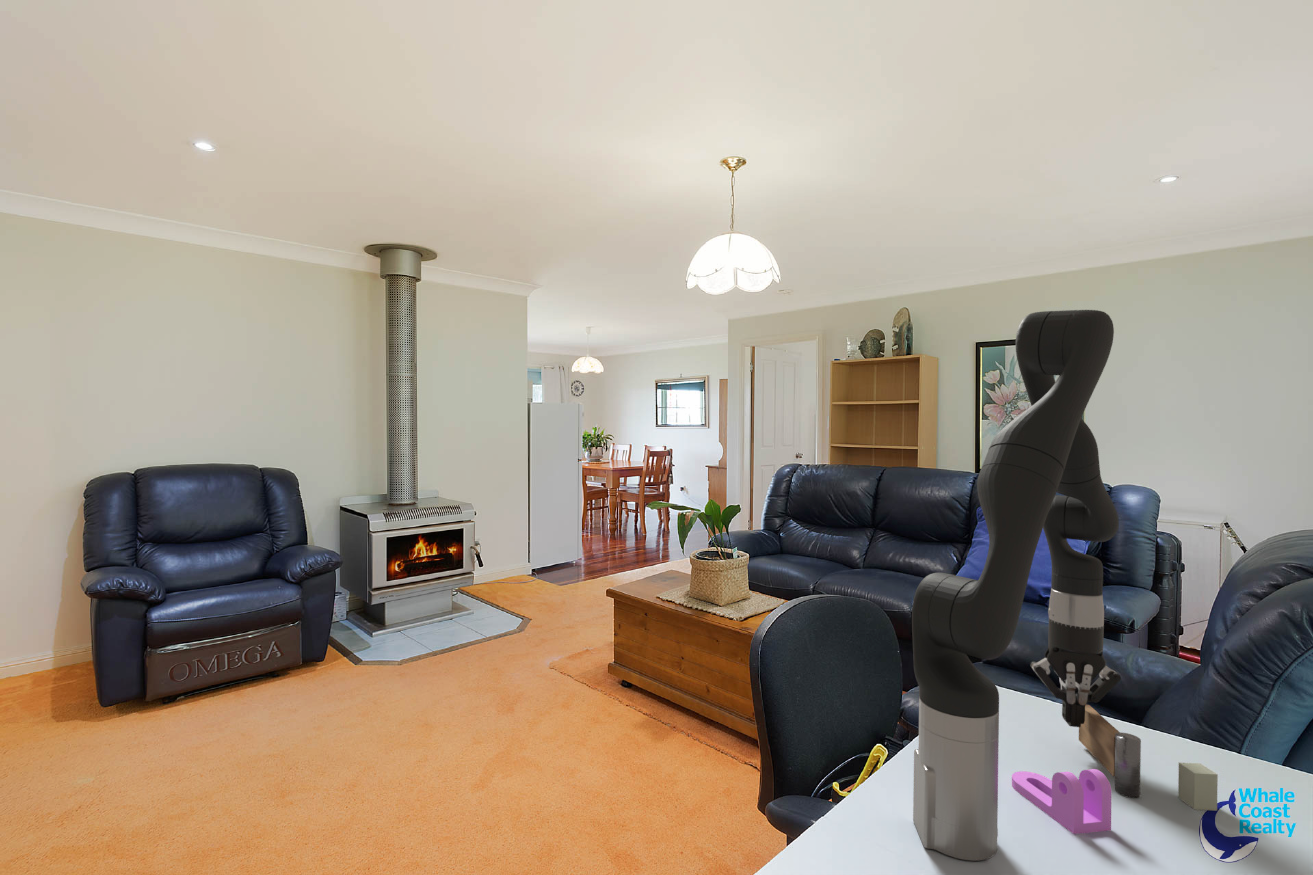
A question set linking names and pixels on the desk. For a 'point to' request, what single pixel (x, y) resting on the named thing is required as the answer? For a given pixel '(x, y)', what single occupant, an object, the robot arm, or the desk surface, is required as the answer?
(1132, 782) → the hinge post
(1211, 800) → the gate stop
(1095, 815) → the bracket
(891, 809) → the desk surface
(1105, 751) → the gate
